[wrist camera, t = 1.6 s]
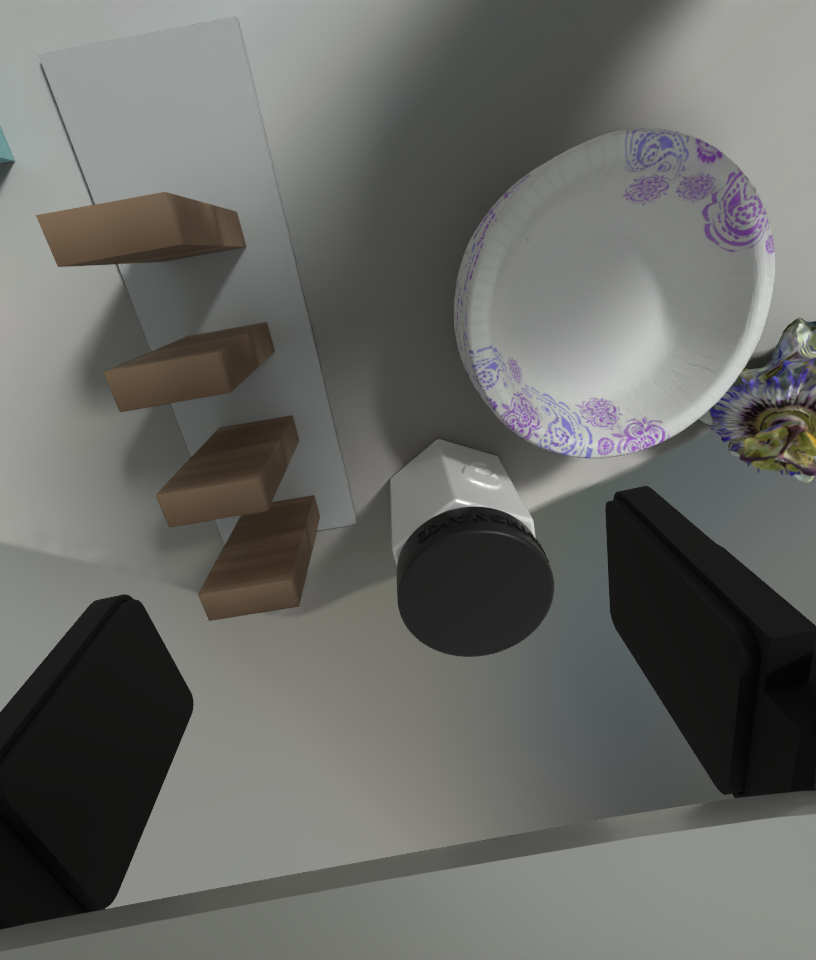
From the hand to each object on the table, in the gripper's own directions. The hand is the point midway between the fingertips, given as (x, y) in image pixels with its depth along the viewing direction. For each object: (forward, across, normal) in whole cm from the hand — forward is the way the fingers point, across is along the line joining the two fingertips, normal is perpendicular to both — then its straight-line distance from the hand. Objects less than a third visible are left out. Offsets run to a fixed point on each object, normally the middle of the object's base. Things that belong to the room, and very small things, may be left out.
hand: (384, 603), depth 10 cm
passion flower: (+24, -25, +6) cm, 35 cm away
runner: (+24, +9, -4) cm, 26 cm away
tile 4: (+24, +9, +3) cm, 26 cm away
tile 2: (+24, +8, -9) cm, 27 cm away
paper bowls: (+24, -12, -1) cm, 27 cm away
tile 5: (+24, +9, +9) cm, 27 cm away
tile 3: (+24, +9, -3) cm, 26 cm away
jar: (+24, -3, +10) cm, 27 cm away
